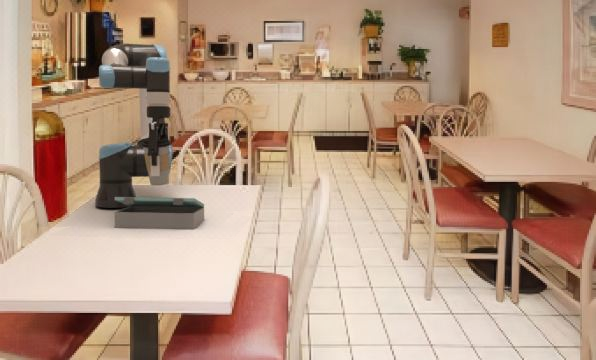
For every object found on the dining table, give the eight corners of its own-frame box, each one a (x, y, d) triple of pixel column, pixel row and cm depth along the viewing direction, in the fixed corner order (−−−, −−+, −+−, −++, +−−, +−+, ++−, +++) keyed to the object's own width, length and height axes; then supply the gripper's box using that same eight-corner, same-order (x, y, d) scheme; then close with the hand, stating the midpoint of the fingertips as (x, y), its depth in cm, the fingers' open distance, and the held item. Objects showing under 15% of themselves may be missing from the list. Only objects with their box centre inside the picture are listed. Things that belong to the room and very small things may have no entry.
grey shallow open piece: (130, 220, 215) (130, 206, 215) (204, 221, 213) (204, 207, 213) (114, 227, 200) (114, 212, 200) (194, 229, 198) (194, 213, 198)
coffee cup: (146, 188, 200) (142, 142, 196) (143, 181, 209) (139, 137, 205) (175, 185, 203) (172, 140, 199) (171, 178, 212) (168, 135, 208)
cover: (129, 209, 214) (130, 203, 215) (203, 211, 213) (204, 204, 213) (113, 203, 199) (113, 196, 199) (193, 204, 197) (193, 197, 197)
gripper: (156, 106, 213) (157, 172, 215) (136, 104, 192) (137, 177, 194) (178, 106, 212) (178, 172, 215) (160, 104, 191) (161, 177, 193)
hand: (159, 174), depth 204 cm, fingers closed on coffee cup, 9 cm apart
